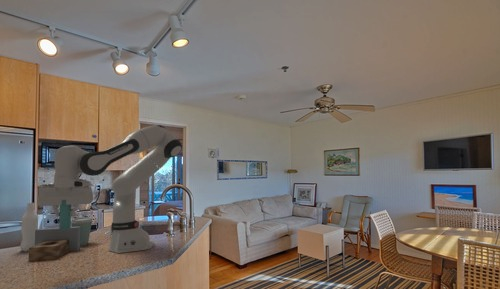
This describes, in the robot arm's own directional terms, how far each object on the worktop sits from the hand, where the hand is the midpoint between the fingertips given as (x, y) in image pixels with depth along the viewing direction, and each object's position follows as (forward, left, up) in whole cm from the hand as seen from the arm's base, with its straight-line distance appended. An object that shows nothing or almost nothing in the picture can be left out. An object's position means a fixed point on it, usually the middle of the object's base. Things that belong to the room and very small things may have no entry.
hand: (65, 215), depth 114 cm
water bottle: (+34, -40, -23) cm, 57 cm away
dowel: (0, 0, -5) cm, 5 cm away
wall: (+17, -33, -23) cm, 43 cm away
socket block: (+17, -25, -23) cm, 38 cm away
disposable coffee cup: (+10, -44, -23) cm, 50 cm away
